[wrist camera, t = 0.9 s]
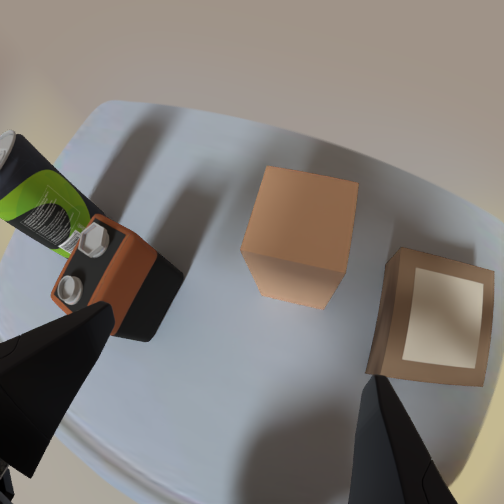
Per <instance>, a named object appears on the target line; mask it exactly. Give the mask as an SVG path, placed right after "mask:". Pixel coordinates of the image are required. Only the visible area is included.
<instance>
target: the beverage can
mask: <svg viewBox="0 0 504 504" xmlns="http://www.w3.org/2000/svg"><path fill="white" fill-rule="evenodd" d="M95 214H101V215H103V216H105V214H104V213H103V212H102V211H101V210H100V209H99V208H98V207H97V206H96V205H95V204H93V203H92V202H91V201H90V200H89V199H88V198H87V197H86V196H85V195H83V194H82V193H81V192H80V191H79V190H78V189H77V188H76V187H75V186H74V185H73V184H72V183H71V182H69V181H68V180H67V179H66V178H65V177H64V176H63V175H62V174H61V173H60V172H59V171H58V170H57V169H56V168H55V167H54V166H53V165H51V164H50V162H49V161H48V160H47V159H46V158H45V157H43V156H42V155H41V153H39V152H38V151H37V149H35V147H33V145H32V144H31V143H30V142H29V141H28V140H27V139H25V137H24V136H23V135H21V134H15V132H14V131H13V130H8V131H6V132H5V133H3V134H2V135H0V218H1V219H3V220H4V221H6V222H7V223H9V224H10V225H12V226H14V227H15V228H17V229H18V230H20V231H21V232H23V233H25V234H26V235H28V236H29V237H31V238H33V239H34V240H36V241H38V242H39V243H41V244H43V245H44V246H46V247H48V248H49V249H51V250H53V251H55V252H56V253H58V254H60V255H62V256H63V257H65V258H67V259H68V258H69V256H70V255H71V253H72V251H73V249H74V247H75V245H76V244H77V242H78V240H79V238H80V236H81V232H82V231H83V230H85V228H86V227H87V225H88V223H89V222H90V220H91V219H92V217H93V216H94V215H95ZM105 217H106V216H105Z"/></svg>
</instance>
